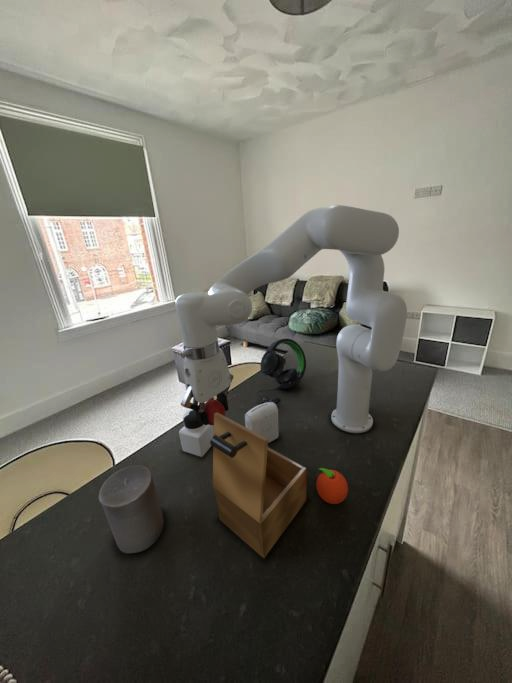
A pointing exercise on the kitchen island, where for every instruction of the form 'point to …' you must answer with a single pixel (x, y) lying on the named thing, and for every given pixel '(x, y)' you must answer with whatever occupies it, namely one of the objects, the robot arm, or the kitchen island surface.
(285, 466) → the chest
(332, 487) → the clementine
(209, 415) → the onion
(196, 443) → the medicine bottle
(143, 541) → the pillar candle
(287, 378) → the headset
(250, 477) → the lid
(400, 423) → the kitchen island surface
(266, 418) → the photo printer
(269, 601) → the kitchen island surface
